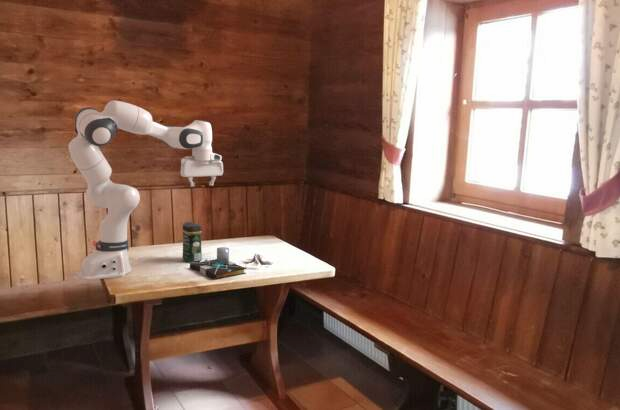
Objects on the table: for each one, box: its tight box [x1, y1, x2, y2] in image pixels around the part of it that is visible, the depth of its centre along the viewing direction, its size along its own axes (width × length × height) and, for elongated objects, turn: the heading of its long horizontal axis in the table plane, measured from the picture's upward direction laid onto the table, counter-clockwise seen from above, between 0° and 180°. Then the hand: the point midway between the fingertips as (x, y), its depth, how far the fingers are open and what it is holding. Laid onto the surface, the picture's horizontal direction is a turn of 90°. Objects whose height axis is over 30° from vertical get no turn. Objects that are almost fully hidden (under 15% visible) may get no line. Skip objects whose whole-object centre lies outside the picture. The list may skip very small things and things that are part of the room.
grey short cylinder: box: [216, 246, 230, 264], centre depth 236 cm, size 5×5×6 cm
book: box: [189, 258, 247, 281], centre depth 235 cm, size 22×17×5 cm
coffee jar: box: [182, 221, 203, 263], centre depth 250 cm, size 10×8×19 cm
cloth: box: [238, 252, 277, 271], centre depth 250 cm, size 22×19×6 cm
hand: (202, 186), depth 240 cm, fingers open, 8 cm apart
